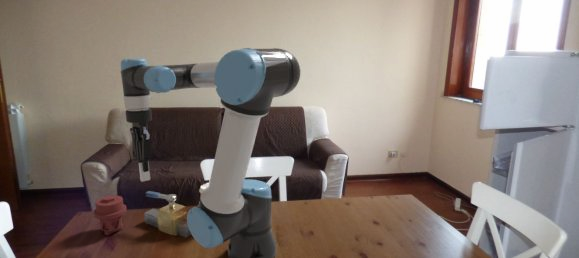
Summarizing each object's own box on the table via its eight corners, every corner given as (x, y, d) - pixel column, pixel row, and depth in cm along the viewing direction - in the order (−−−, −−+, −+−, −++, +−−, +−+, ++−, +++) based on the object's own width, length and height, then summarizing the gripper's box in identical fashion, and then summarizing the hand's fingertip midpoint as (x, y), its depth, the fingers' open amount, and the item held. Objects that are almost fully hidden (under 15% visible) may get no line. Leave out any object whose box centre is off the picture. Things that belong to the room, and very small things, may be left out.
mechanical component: (134, 225, 130) (115, 239, 121) (109, 222, 132) (89, 236, 123) (131, 193, 127) (112, 205, 118) (105, 190, 129) (85, 202, 120)
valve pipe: (197, 230, 127) (195, 202, 124) (183, 239, 121) (181, 209, 119) (156, 217, 136) (154, 190, 134) (142, 224, 131) (139, 196, 128)
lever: (172, 202, 123) (172, 198, 123) (144, 197, 127) (144, 193, 127) (178, 198, 126) (178, 194, 126) (150, 193, 130) (150, 190, 130)
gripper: (158, 109, 112) (164, 182, 117) (142, 105, 122) (149, 172, 127) (133, 112, 107) (140, 188, 113) (119, 107, 117) (126, 177, 122)
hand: (145, 180), depth 120 cm, fingers closed
